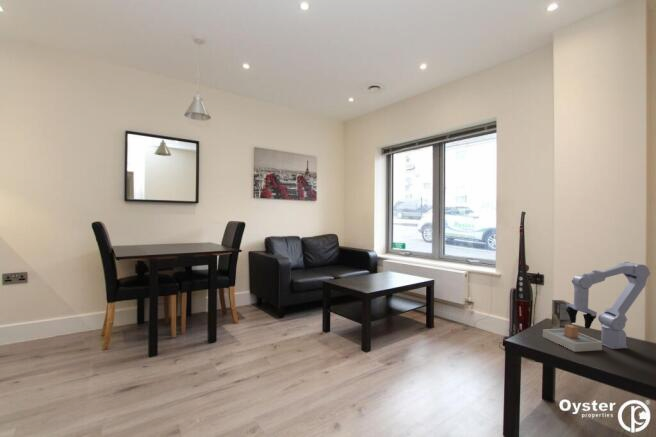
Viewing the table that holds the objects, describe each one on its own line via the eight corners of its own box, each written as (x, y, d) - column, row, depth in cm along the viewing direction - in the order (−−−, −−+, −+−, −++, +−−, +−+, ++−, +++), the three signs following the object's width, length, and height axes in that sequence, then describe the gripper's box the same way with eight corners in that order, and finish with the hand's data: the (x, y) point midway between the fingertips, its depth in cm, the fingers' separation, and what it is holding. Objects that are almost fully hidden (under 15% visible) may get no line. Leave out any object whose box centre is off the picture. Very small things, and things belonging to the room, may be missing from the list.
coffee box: (572, 333, 173) (573, 304, 173) (559, 332, 175) (560, 303, 174) (563, 327, 182) (564, 300, 182) (551, 326, 184) (551, 299, 183)
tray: (568, 335, 170) (568, 328, 170) (602, 349, 152) (602, 341, 152) (542, 336, 167) (543, 329, 167) (574, 351, 150) (574, 343, 149)
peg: (570, 339, 162) (571, 324, 162) (577, 343, 158) (578, 327, 158) (564, 340, 161) (564, 324, 161) (571, 343, 157) (571, 327, 157)
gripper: (561, 295, 165) (560, 320, 166) (588, 303, 151) (587, 331, 151) (572, 295, 167) (571, 320, 167) (600, 303, 152) (599, 330, 153)
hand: (580, 325), depth 159 cm, fingers open, 7 cm apart
